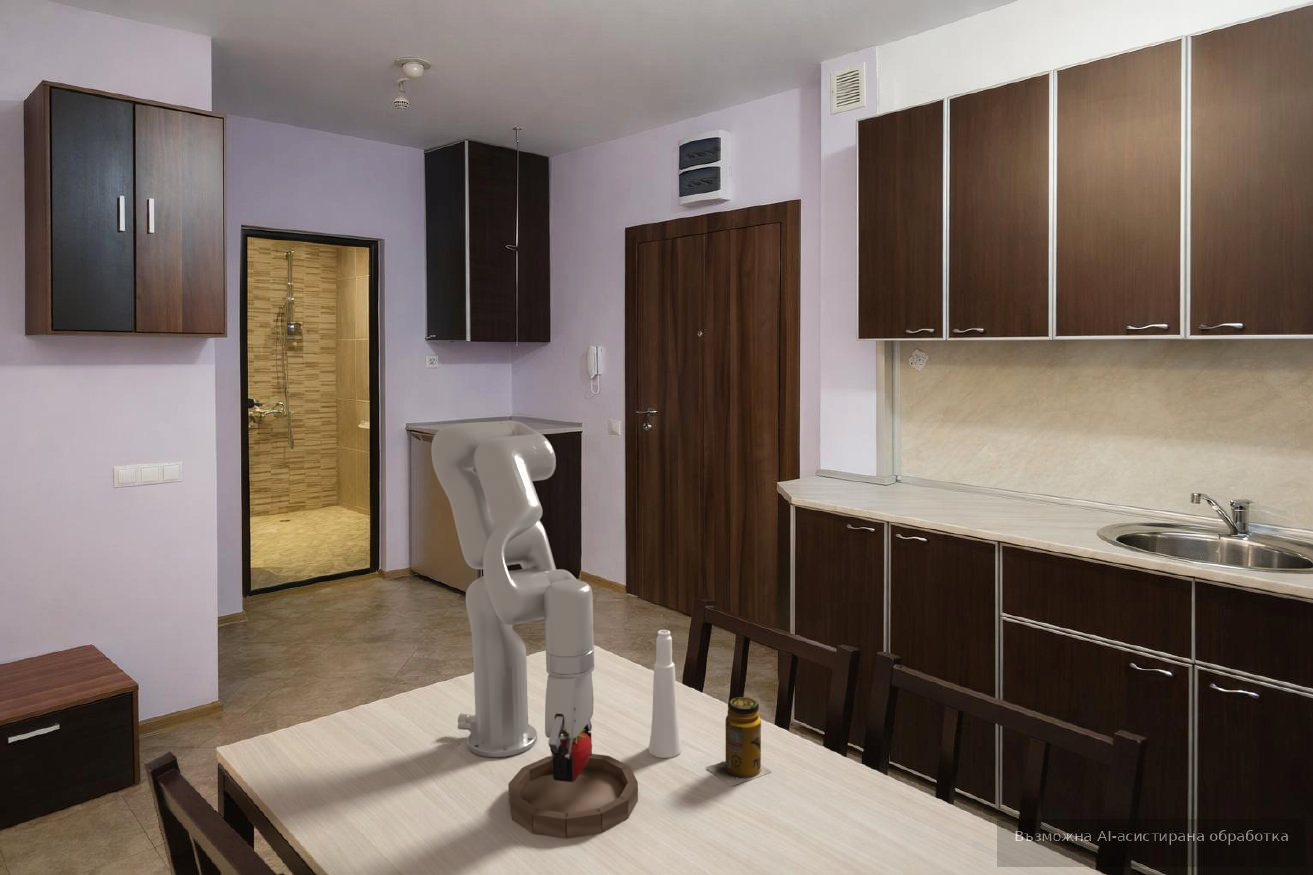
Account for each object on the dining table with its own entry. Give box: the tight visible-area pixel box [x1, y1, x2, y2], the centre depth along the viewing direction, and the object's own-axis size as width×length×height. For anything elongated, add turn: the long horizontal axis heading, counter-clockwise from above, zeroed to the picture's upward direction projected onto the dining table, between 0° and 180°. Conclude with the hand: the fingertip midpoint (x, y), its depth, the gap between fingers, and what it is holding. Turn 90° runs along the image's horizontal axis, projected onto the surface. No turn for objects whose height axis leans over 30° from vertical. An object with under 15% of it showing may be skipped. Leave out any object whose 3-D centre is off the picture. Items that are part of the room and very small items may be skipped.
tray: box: [507, 753, 639, 839], centre depth 133 cm, size 20×20×3 cm
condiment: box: [706, 696, 772, 787], centre depth 142 cm, size 7×8×12 cm
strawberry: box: [560, 729, 593, 782], centre depth 132 cm, size 6×8×10 cm
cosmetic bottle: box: [647, 629, 683, 759], centre depth 149 cm, size 6×6×22 cm
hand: (573, 766), depth 133 cm, fingers closed on strawberry, 7 cm apart
